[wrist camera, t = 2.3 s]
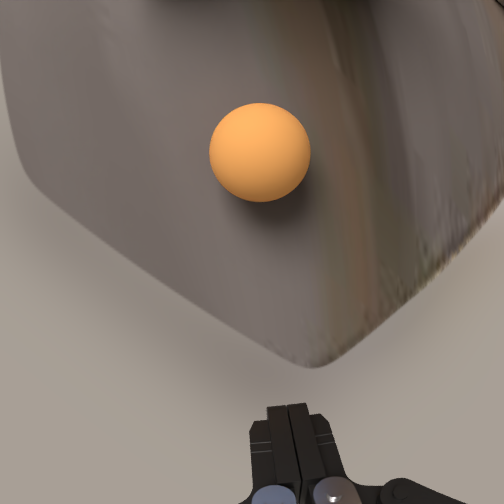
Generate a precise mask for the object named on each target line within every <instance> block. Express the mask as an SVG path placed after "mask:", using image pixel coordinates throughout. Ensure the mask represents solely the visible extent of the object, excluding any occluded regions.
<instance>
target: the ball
mask: <svg viewBox="0 0 504 504" xmlns="http://www.w3.org/2000/svg"><path fill="white" fill-rule="evenodd" d="M310 153H311V150H310V143H309V139H308V136H307V134H306V131H305V130H304V128H303V126H302V125H301V123H300V122H299V121H298V120H297V119H296V118H295V117H294V116H293V115H292V114H290V113H289V112H288V111H286V110H284V109H282V108H280V107H278V106H275V105H271V104H265V103H255V104H249V105H244V106H242V107H239V108H237V109H235V110H233V111H232V112H230V113H229V114H228V115H226V116H225V117H224V118H223V119H222V120H221V122H220V123H219V124H218V126H217V127H216V129H215V131H214V133H213V135H212V139H211V142H210V149H209V156H210V163H211V166H212V169H213V172H214V174H215V176H216V178H217V179H218V181H219V182H220V183H221V185H222V186H223V187H224V188H225V189H226V190H228V191H229V192H230V193H232V194H233V195H235V196H237V197H239V198H242V199H244V200H248V201H253V202H267V201H272V200H276V199H279V198H281V197H283V196H285V195H287V194H288V193H290V192H291V191H292V190H294V189H295V188H296V187H297V186H298V185H299V183H300V182H301V181H302V179H303V178H304V176H305V174H306V172H307V170H308V166H309V163H310Z"/></svg>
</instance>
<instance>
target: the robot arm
mask: <svg viewBox="0 0 504 504" xmlns="http://www.w3.org/2000/svg"><path fill="white" fill-rule="evenodd" d="M497 1H498V2H499V3H501V4H502V5H503V6H504V0H497ZM249 435H250V449H251V464H252V478H253V489H252V492H251V494H250V496H249V497H248V498H247V499H246V500H244V501H243V502H241V503H239V504H466V503H463V502H461V501H458V500H456V499H453V498H451V497H448V496H446V495H443V494H441V493H438V492H436V491H434V490H432V489H429V488H427V487H425V486H422V485H420V484H418V483H416V482H414V481H411V480H409V479H406V478H396V479H393V480H390V481H389V482H387V483H386V484H385V485H384V486H364V485H359V484H357V483H354V482H353V481H351V480H350V479H349V478H348V477H347V476H346V474H345V471H344V468H343V465H342V462H341V459H340V455H339V452H338V449H337V446H336V443H335V440H334V437H333V435H332V431H331V428H330V424H329V422H328V421H327V420H326V419H325V418H324V417H323V416H322V415H321V414H314V415H309V412H308V408H307V405H306V403H299V404H291V405H287V406H285V405H282V406H272V407H267V420H261V421H254V423H253V425H252V427H251V429H250V431H249Z"/></svg>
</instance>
